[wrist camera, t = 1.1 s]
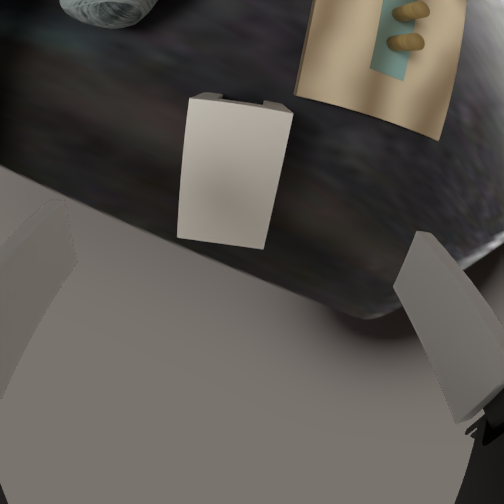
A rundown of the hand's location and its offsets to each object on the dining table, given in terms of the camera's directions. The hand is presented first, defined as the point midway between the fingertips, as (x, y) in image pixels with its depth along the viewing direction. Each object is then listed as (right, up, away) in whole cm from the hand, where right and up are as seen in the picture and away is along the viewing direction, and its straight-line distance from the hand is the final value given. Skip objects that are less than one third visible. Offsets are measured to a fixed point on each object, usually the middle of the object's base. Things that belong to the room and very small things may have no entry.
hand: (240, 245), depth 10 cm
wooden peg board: (+12, +20, +7) cm, 25 cm away
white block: (-1, +8, +15) cm, 17 cm away
